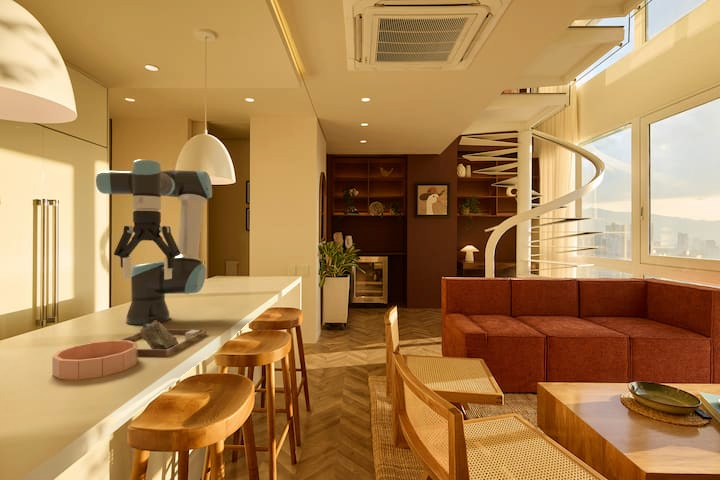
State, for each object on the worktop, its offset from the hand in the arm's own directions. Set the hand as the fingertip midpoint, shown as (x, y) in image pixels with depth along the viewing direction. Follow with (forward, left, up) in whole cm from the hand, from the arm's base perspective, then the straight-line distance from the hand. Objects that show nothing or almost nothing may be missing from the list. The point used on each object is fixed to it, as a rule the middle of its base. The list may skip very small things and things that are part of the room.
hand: (147, 278), depth 116 cm
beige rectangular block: (-11, +9, -21) cm, 26 cm away
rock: (-2, +4, -18) cm, 18 cm away
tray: (-3, +1, -21) cm, 21 cm away
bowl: (+18, -2, -21) cm, 28 cm away
